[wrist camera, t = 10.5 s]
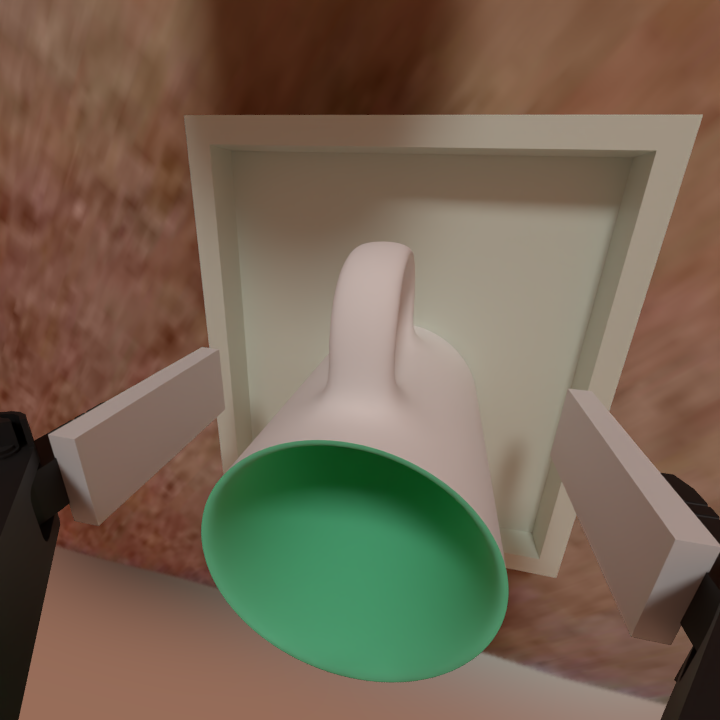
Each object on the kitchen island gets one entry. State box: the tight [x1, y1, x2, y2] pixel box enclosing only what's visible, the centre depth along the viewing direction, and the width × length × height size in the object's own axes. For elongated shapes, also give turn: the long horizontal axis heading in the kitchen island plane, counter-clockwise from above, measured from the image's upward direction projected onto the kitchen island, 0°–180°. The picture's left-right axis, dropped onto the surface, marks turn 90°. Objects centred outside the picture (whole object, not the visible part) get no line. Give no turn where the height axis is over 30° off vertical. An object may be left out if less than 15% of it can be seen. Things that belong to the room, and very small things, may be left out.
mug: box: [201, 241, 508, 682], centre depth 14 cm, size 12×8×10 cm, turn 2°
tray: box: [184, 115, 703, 578], centre depth 18 cm, size 18×20×2 cm
